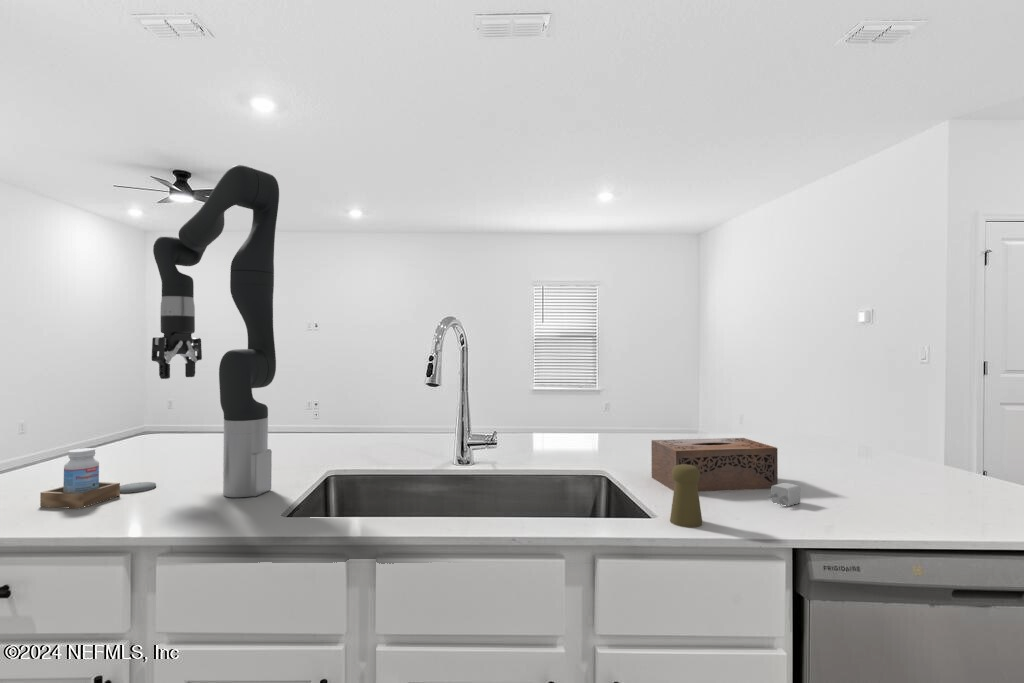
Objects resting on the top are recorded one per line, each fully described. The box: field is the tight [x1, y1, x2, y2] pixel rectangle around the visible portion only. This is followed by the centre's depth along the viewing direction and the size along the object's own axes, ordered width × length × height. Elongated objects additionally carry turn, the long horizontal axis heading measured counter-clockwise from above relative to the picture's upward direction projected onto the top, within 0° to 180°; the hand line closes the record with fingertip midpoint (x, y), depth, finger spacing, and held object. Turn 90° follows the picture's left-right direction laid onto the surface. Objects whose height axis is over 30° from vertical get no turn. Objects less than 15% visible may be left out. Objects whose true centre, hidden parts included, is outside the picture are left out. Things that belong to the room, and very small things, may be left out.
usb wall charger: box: [767, 482, 801, 507], centre depth 117 cm, size 4×7×4 cm, turn 122°
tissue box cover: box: [651, 437, 779, 493], centre depth 135 cm, size 26×14×10 cm, turn 98°
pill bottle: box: [62, 447, 100, 493], centre depth 118 cm, size 6×6×11 cm
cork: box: [669, 464, 703, 528], centre depth 105 cm, size 6×6×11 cm
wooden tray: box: [39, 481, 121, 509], centre depth 118 cm, size 10×10×3 cm
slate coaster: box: [120, 481, 157, 494], centre depth 128 cm, size 8×8×1 cm
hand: (177, 377), depth 139 cm, fingers open, 8 cm apart
